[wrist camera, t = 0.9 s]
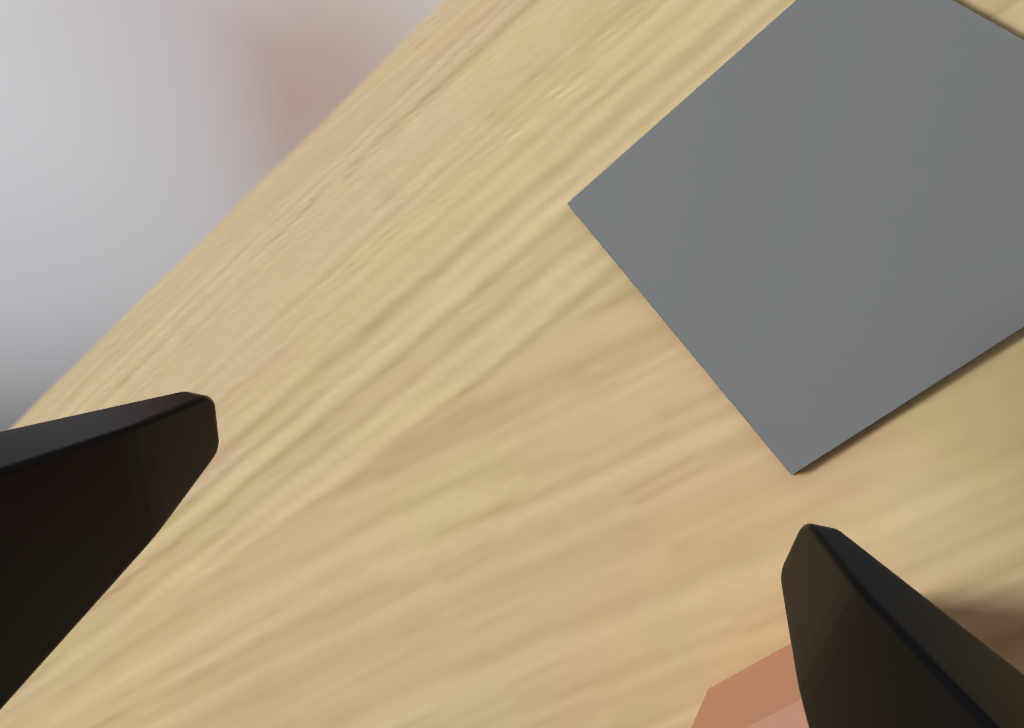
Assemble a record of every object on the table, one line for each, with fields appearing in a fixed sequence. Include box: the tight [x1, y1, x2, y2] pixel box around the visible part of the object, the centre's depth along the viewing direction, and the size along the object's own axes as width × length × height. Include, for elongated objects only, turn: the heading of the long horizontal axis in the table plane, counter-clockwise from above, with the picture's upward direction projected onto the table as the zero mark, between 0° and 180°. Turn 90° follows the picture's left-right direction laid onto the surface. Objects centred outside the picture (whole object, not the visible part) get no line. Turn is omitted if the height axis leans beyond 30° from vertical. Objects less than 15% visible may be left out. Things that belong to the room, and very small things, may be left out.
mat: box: [567, 0, 1024, 475], centre depth 16 cm, size 12×12×1 cm
